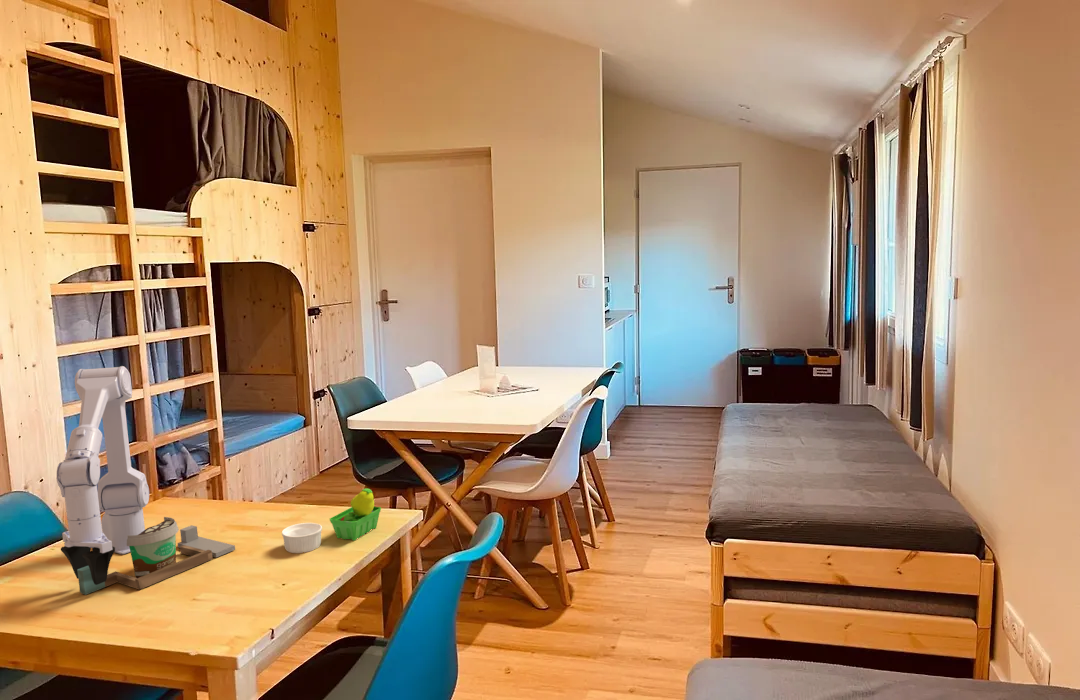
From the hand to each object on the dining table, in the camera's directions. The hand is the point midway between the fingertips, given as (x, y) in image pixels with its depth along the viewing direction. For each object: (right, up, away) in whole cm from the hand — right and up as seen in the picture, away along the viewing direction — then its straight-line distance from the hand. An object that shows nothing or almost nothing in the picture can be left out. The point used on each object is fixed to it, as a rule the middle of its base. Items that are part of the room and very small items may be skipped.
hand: (91, 579), depth 154 cm
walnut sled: (+8, -1, +7) cm, 11 cm away
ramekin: (+37, +1, +20) cm, 42 cm away
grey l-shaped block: (+14, +1, +21) cm, 25 cm away
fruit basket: (+49, +3, +27) cm, 56 cm away
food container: (+10, -1, +9) cm, 14 cm away
